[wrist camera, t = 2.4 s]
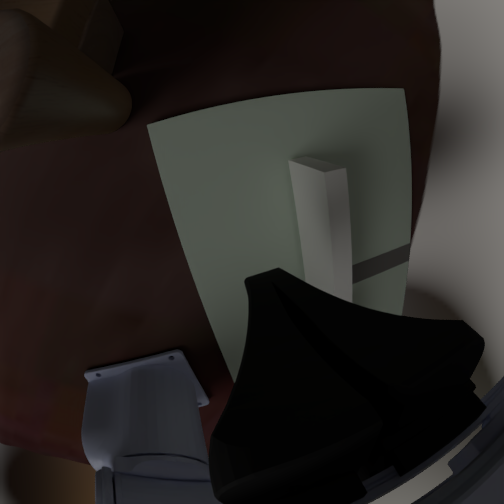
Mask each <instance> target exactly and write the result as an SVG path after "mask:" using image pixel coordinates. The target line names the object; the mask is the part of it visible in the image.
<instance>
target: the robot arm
mask: <svg viewBox="0 0 504 504" xmlns="http://www.w3.org/2000/svg"><path fill="white" fill-rule="evenodd" d="M244 283H245V287H246V291H247V295H248V326H247V335H246V342H245V347H244V352H243V356H242V360H241V364H240V368H239V371H238V375H237V378H236V381H235V384H234V386H233V389H232V391H231V394H230V397H229V399H228V402H227V404H226V407H225V409H224V411H223V413H222V415H221V417H220V419H219V421H218V423H217V425H216V427H215V429H214V431H213V433H212V435H211V439H210V449H209V458H208V454H207V449H206V444H205V440H204V435H203V430H202V424H201V419H200V414H199V408H198V407H200V406H204V405H207V404H209V399H208V397H207V395H206V393H205V392H204V390H203V388H202V386H201V385H200V383H199V381H198V379H197V378H196V376H195V374H194V372H193V370H192V369H191V367H190V365H189V363H188V361H187V359H186V357H185V356H184V354H183V352H182V351H181V350H178V349H176V350H172V351H168V352H164V353H160V354H157V355H153V356H149V357H145V358H141V359H136V360H132V361H128V362H124V363H119V364H115V365H110V366H106V367H101V368H96V369H92V370H87V371H85V374H84V376H85V378H86V379H87V380H88V381H89V384H88V390H87V396H86V402H85V409H84V416H83V424H82V443H83V448H84V451H85V454H86V457H87V459H88V461H89V462H90V464H91V465H92V467H93V468H94V469H95V470H96V474H95V504H368V503H370V502H372V501H374V500H376V499H378V498H380V497H382V496H383V495H385V494H387V493H389V492H390V491H392V490H394V489H396V488H397V487H399V486H401V485H402V484H404V483H406V482H407V481H409V480H410V479H412V478H414V477H415V476H416V475H418V474H419V473H421V472H423V471H424V470H425V469H427V468H428V467H430V466H431V465H432V464H434V463H435V462H437V461H438V460H439V459H441V458H442V457H443V456H445V455H446V454H447V453H448V452H450V451H451V450H452V449H453V448H455V447H456V446H457V445H458V444H459V443H461V442H462V441H463V440H464V439H465V438H466V437H468V436H469V435H470V434H471V433H472V432H473V431H474V430H475V429H477V428H478V427H479V426H480V425H481V424H482V430H480V431H479V433H477V434H476V435H475V436H474V437H473V439H471V441H470V442H469V443H468V444H467V445H466V446H465V447H464V448H463V449H462V450H461V451H460V452H459V453H458V454H457V455H456V456H454V457H453V458H452V459H451V460H450V461H449V462H448V465H449V467H450V468H451V470H452V471H453V475H451V476H450V477H449V478H447V479H446V480H445V481H443V482H442V483H441V484H439V485H438V486H437V487H435V488H434V489H432V490H431V491H429V492H428V493H427V494H425V495H424V496H422V497H421V498H419V499H418V500H416V501H415V502H413V503H411V504H504V377H503V378H502V379H501V380H500V381H499V382H498V383H497V384H496V385H495V386H494V387H493V388H492V389H491V390H490V391H489V392H488V393H487V394H486V395H485V396H484V397H483V398H482V399H481V400H480V399H479V398H478V397H477V396H476V394H474V392H473V391H474V390H475V388H476V387H475V384H474V383H473V382H472V381H471V380H470V377H471V376H472V374H473V372H474V370H475V368H476V366H477V364H478V362H479V360H480V358H481V356H482V354H483V350H484V346H485V342H484V339H483V338H482V337H481V336H480V335H479V334H478V333H477V332H476V331H475V330H473V329H472V328H471V327H470V326H469V325H468V324H467V323H465V322H464V321H463V320H432V319H422V318H413V317H407V316H401V315H395V314H391V313H386V312H382V311H377V310H374V309H370V308H367V307H363V306H360V305H357V304H354V303H351V302H348V301H346V300H343V299H341V298H338V297H336V296H333V295H331V294H329V293H327V292H324V291H322V290H320V289H318V288H316V287H314V286H312V285H310V284H308V283H306V282H304V281H303V280H301V279H299V278H297V277H295V276H294V275H292V274H290V273H288V272H287V271H285V270H283V269H281V268H279V267H278V268H275V269H272V270H269V271H266V272H262V273H259V274H256V275H253V276H250V277H247V278H246V279H245V280H244ZM170 356H173V357H170ZM98 373H99V374H98Z"/></svg>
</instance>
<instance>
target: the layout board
mask: <svg viewBox="0 0 504 504" xmlns="http://www.w3.org/2000/svg"><path fill="white" fill-rule="evenodd" d="M147 128H148V132H149V135H150V139H151V143H152V147H153V151H154V154H155V158H156V162H157V165H158V169H159V172H160V176H161V179H162V183H163V186H164V190H165V193H166V196H167V200H168V203H169V206H170V209H171V213H172V216H173V219H174V222H175V225H176V228H177V231H178V235H179V238H180V241H181V244H182V247H183V250H184V253H185V256H186V258H187V261H188V264H189V267H190V270H191V273H192V276H193V279H194V281H195V284H196V287H197V290H198V292H199V295H200V298H201V301H202V303H203V306H204V309H205V311H206V314H207V317H208V319H209V322H210V324H211V327H212V329H213V332H214V335H215V337H216V340H217V342H218V345H219V347H220V350H221V352H222V354H223V357H224V359H225V362H226V364H227V367H228V369H229V371H230V374H231V376H232V378H233V381H234V383H235V381H236V378H237V375H238V371H239V368H240V364H241V360H242V356H243V352H244V347H245V342H246V335H247V326H248V295H247V291H246V287H245V283H244V280H245V279H246V278H247V277H250V276H253V275H256V274H259V273H262V272H266V271H269V270H272V269H275V268H278V267H279V268H281V269H283V270H285V271H287V272H288V273H290V274H292V275H294V276H295V277H297V278H299V279H301V280H303V281H304V282H306V281H305V273H304V264H303V257H302V249H301V241H300V234H299V227H298V220H297V213H296V206H295V200H294V193H293V187H292V181H291V175H290V169H289V163H288V160H290V159H295V158H300V157H305V156H307V157H311V158H314V159H318V160H321V161H325V162H328V163H332V164H335V165H338V166H342V167H345V168H346V173H347V183H348V195H349V208H350V224H351V245H352V303H354V304H357V305H360V306H363V307H367V308H370V309H374V310H377V311H382V312H386V313H391V314H395V315H401V316H402V310H403V304H404V297H405V289H406V281H407V272H408V262H409V255H410V236H411V212H412V174H411V151H410V137H409V125H408V116H407V107H406V100H405V93H404V89H399V88H357V89H335V90H321V91H310V92H300V93H292V94H284V95H276V96H269V97H263V98H257V99H251V100H245V101H240V102H235V103H230V104H225V105H220V106H216V107H211V108H207V109H203V110H199V111H195V112H191V113H187V114H183V115H179V116H176V117H172V118H169V119H165V120H162V121H159V122H155V123H152V124H149V125H147Z"/></svg>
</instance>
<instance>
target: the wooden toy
mask: <svg viewBox="0 0 504 504" xmlns="http://www.w3.org/2000/svg"><path fill="white" fill-rule="evenodd" d="M123 34H124V30H123V28H122V26H121V24H120V22H119V20H118V18H117V16H116V14H115V12H114V10H113V8H112V6H111V4H110V2H109V0H0V152H1V151H5V150H10V149H14V148H18V147H23V146H28V145H33V144H38V143H43V142H49V141H55V140H61V139H68V138H75V137H82V136H90V135H99V134H109V133H111V132H114V131H116V130H118V129H119V128H120V127H121V126H123V125H124V124H125V122H126V121H127V119H128V118H129V116H130V113H131V110H132V98H131V95H130V92H129V91H128V90H127V88H126V87H125V86H124V85H122V84H121V83H120V82H119V81H118V80H116V79H115V78H114V77H113V76H112V73H113V69H114V65H115V61H116V58H117V54H118V51H119V47H120V44H121V41H122V38H123Z"/></svg>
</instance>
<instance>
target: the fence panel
mask: <svg viewBox="0 0 504 504" xmlns="http://www.w3.org/2000/svg"><path fill="white" fill-rule="evenodd" d="M288 163H289V169H290V175H291V181H292V187H293V193H294V200H295V206H296V213H297V220H298V227H299V234H300V241H301V249H302V257H303V264H304V273H305V281H306V283H308V284H310V285H312V286H314V287H316V288H318V289H320V290H322V291H324V292H327V293H329V294H331V295H333V296H336V297H338V298H341V299H343V300H346V301H348V302H351V303H352V245H351V224H350V208H349V195H348V183H347V173H346V168H345V167H342V166H338V165H335V164H332V163H328V162H325V161H321V160H318V159H314V158H311V157H307V156H305V157H300V158H295V159H290V160H288Z"/></svg>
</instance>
